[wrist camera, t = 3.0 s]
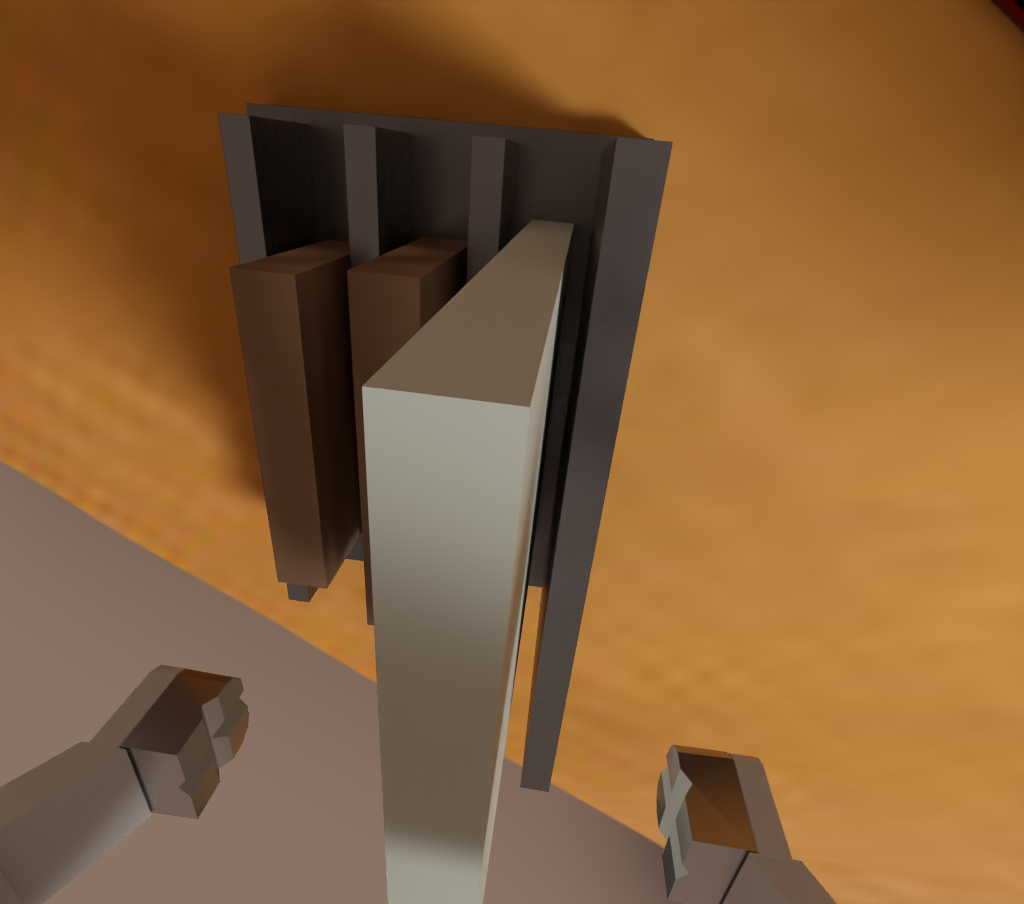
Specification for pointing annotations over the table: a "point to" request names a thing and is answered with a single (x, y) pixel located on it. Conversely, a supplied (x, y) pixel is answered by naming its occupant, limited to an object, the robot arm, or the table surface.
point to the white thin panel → (458, 554)
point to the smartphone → (1013, 10)
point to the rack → (488, 229)
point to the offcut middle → (395, 326)
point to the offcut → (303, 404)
